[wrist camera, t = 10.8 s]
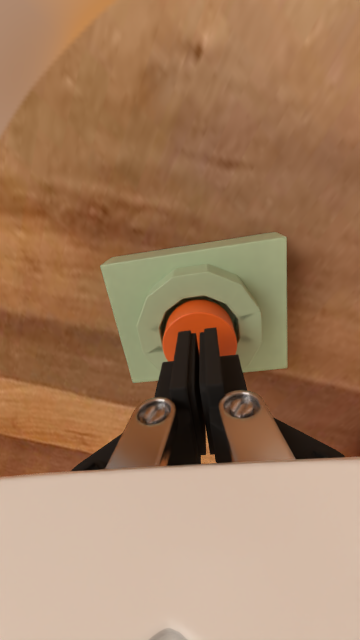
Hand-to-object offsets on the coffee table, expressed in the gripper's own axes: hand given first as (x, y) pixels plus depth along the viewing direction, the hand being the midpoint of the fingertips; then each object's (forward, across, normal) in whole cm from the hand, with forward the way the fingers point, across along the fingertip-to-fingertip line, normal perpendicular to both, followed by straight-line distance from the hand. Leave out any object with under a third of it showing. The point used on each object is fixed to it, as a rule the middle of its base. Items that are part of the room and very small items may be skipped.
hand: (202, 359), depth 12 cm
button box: (+6, 0, 0) cm, 7 cm away
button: (+3, 0, 0) cm, 3 cm away
